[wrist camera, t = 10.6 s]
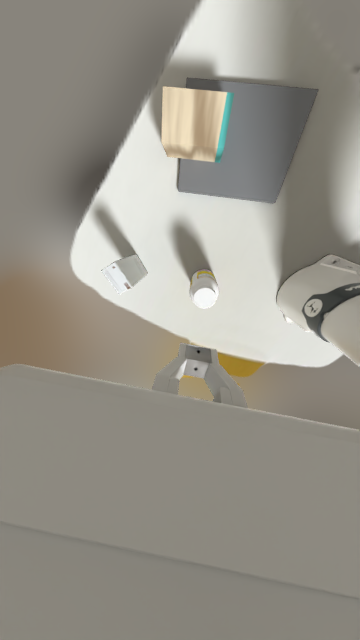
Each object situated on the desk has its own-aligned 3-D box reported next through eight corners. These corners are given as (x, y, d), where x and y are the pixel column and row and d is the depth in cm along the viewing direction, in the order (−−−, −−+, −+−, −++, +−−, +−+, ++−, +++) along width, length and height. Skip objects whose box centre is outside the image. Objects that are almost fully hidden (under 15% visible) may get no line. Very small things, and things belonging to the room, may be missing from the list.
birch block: (234, 92, 18) (162, 86, 19) (223, 148, 21) (161, 141, 22) (227, 119, 23) (169, 113, 23) (219, 162, 25) (167, 156, 26)
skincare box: (125, 260, 38) (97, 270, 28) (137, 252, 37) (113, 259, 26) (137, 280, 41) (117, 295, 31) (149, 273, 39) (132, 287, 29)
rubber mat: (313, 95, 21) (318, 89, 20) (273, 203, 28) (275, 202, 27) (187, 83, 22) (186, 77, 21) (178, 191, 29) (178, 190, 28)
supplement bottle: (200, 296, 41) (201, 318, 30) (186, 279, 39) (181, 297, 28) (219, 282, 38) (227, 300, 27) (205, 263, 36) (207, 275, 25)
